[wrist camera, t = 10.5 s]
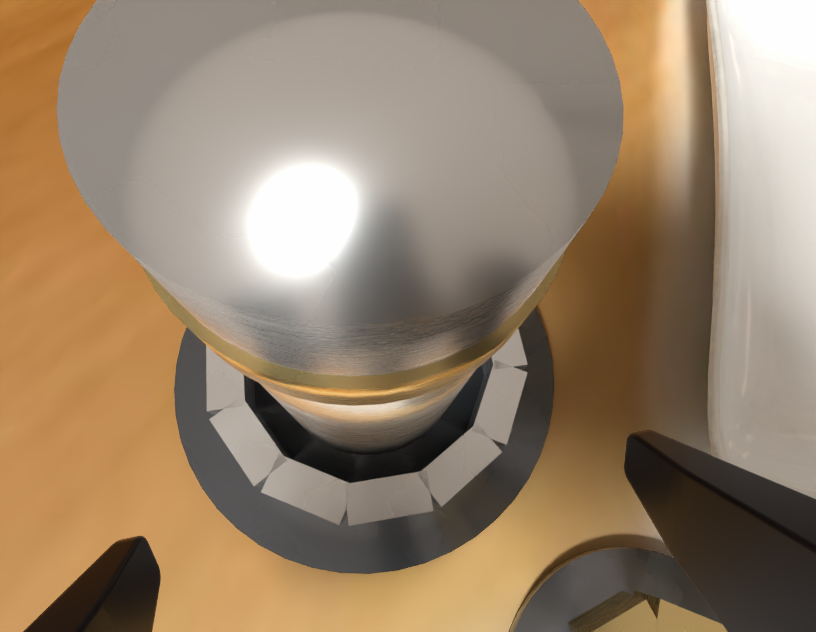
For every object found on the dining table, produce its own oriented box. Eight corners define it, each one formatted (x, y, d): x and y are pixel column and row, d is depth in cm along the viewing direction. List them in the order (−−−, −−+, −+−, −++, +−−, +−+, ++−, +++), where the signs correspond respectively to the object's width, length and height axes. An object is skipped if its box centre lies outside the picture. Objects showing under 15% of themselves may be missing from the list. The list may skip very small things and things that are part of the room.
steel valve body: (495, 367, 18) (742, 85, 6) (366, 502, 16) (327, 505, 4) (372, 254, 19) (364, -160, 7) (240, 364, 17) (-78, 46, 5)
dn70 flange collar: (584, 277, 20) (605, 253, 18) (488, 642, 15) (504, 662, 13) (284, 170, 21) (275, 137, 19) (100, 476, 16) (64, 473, 14)
